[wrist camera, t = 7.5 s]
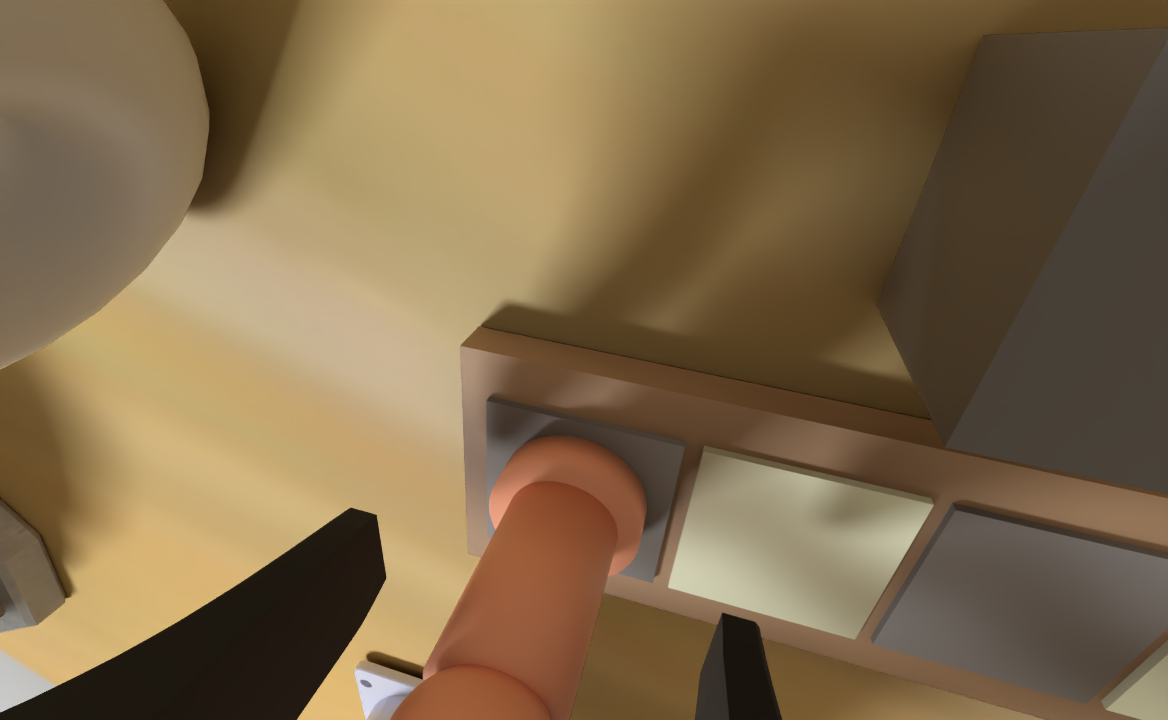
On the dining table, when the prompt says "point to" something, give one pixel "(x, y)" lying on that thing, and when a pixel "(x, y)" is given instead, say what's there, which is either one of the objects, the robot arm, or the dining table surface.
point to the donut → (89, 156)
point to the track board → (849, 529)
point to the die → (1046, 259)
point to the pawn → (535, 586)
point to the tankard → (25, 575)
